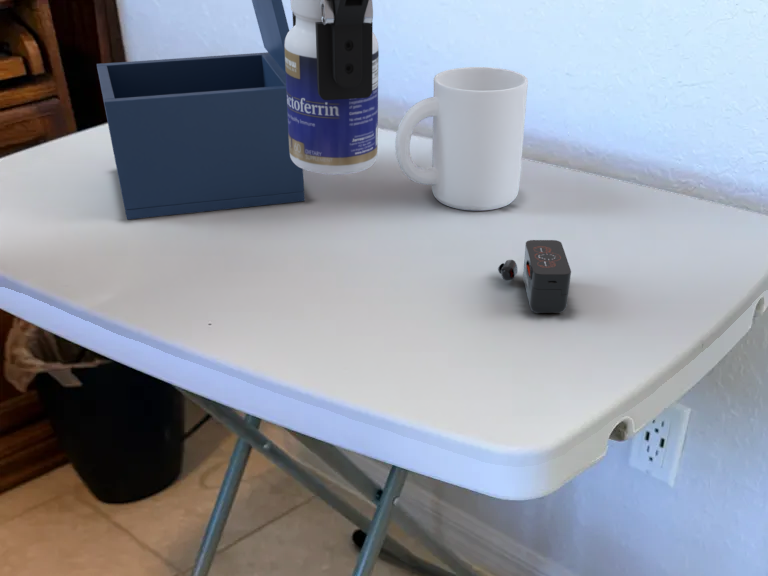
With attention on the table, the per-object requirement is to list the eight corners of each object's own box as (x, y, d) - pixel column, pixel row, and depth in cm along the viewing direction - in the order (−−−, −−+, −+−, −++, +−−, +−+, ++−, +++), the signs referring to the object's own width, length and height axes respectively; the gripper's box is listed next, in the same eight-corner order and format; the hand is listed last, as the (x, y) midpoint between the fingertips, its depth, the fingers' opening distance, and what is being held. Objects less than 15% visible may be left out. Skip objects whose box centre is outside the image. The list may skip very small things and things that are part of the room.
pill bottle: (271, 164, 60) (260, -13, 53) (325, 142, 63) (321, -26, 57) (343, 183, 57) (340, 0, 51) (394, 160, 61) (398, -14, 55)
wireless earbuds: (554, 275, 74) (559, 235, 72) (567, 316, 69) (572, 274, 67) (497, 275, 74) (499, 235, 72) (504, 316, 69) (508, 274, 67)
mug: (408, 221, 83) (408, 97, 76) (383, 189, 89) (381, 73, 82) (532, 207, 86) (542, 87, 79) (499, 177, 92) (507, 63, 85)
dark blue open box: (127, 220, 83) (104, 102, 77) (117, 172, 93) (96, 63, 86) (304, 201, 87) (297, 87, 80) (277, 157, 96) (268, 52, 90)
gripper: (221, -310, 51) (248, 52, 63) (282, -327, 39) (302, 128, 50) (352, -303, 53) (355, 47, 64) (452, -318, 40) (433, 120, 52)
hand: (332, 79), depth 57 cm, fingers closed on pill bottle, 5 cm apart
